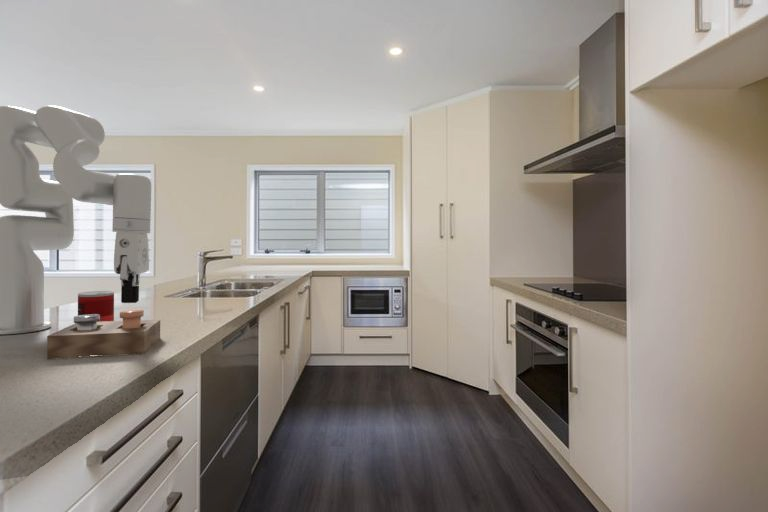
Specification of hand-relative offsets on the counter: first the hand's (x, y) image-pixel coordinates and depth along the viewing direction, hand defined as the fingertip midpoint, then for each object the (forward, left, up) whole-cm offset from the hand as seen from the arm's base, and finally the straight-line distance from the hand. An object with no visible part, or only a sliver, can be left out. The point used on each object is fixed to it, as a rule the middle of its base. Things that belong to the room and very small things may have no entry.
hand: (130, 302), depth 90 cm
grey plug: (-9, 0, -10) cm, 13 cm away
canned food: (-13, +18, -11) cm, 25 cm away
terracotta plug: (0, 0, -9) cm, 9 cm away
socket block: (-4, 0, -11) cm, 11 cm away
